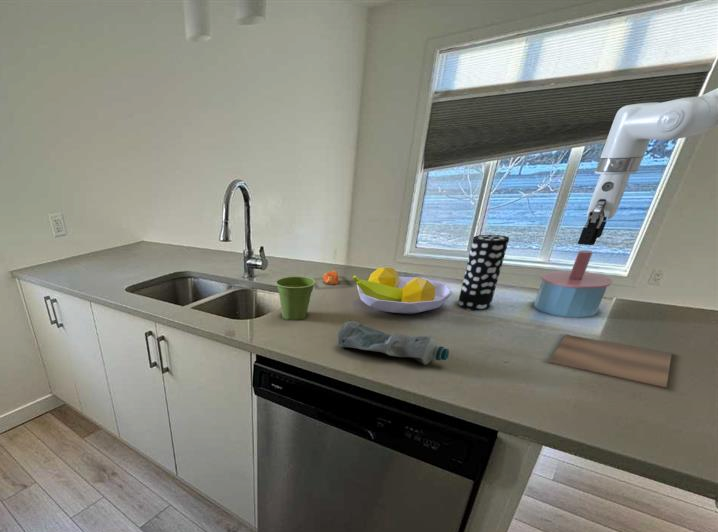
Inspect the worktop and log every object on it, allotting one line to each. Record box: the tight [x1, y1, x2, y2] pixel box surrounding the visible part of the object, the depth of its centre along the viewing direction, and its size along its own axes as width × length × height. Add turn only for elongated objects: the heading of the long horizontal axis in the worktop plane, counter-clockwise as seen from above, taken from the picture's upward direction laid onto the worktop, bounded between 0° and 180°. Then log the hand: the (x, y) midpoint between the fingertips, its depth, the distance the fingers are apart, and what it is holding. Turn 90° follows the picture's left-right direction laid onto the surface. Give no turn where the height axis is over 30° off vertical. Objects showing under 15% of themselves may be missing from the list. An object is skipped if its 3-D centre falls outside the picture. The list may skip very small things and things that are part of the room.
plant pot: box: [275, 275, 317, 321], centre depth 123 cm, size 12×12×11 cm
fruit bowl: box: [352, 266, 454, 315], centre depth 123 cm, size 28×27×11 cm
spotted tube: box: [457, 234, 510, 312], centre depth 116 cm, size 8×8×20 cm
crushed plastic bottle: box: [337, 320, 450, 366], centre depth 97 cm, size 13×7×25 cm
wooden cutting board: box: [548, 334, 673, 389], centre depth 88 cm, size 18×18×1 cm
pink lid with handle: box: [540, 250, 613, 289], centre depth 108 cm, size 15×15×8 cm
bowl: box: [533, 279, 608, 318], centre depth 111 cm, size 14×14×8 cm
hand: (588, 240), depth 104 cm, fingers open, 9 cm apart
